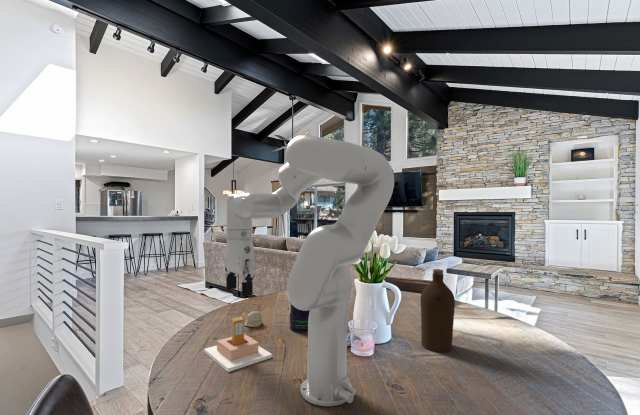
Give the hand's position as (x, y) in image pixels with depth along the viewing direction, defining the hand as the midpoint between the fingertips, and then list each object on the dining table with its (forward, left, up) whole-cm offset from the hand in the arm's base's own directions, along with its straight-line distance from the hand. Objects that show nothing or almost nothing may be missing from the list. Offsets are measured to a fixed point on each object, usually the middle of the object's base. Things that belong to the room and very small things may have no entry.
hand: (238, 292), depth 102 cm
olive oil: (-35, -53, -19) cm, 66 cm away
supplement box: (0, 0, -18) cm, 18 cm away
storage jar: (+5, -29, -19) cm, 35 cm away
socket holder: (0, 0, -19) cm, 19 cm away
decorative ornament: (+19, -16, -19) cm, 32 cm away
